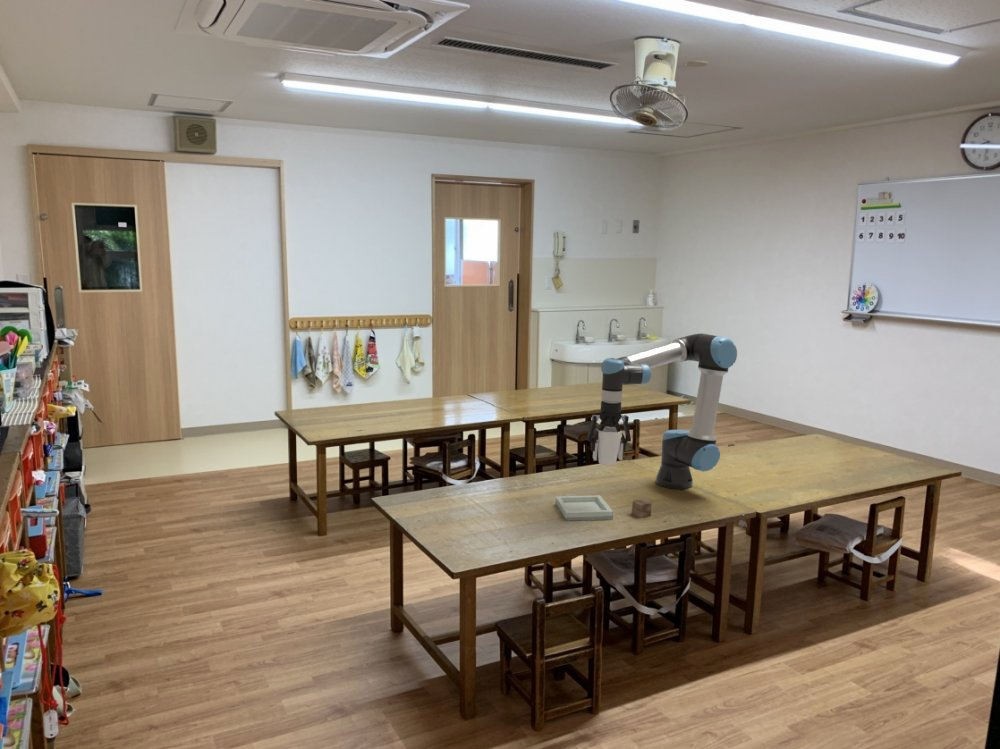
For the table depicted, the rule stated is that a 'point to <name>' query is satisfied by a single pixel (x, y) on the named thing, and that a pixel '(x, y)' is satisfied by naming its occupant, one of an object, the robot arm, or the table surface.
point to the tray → (583, 508)
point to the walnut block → (641, 508)
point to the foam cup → (608, 445)
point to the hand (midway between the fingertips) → (607, 459)
